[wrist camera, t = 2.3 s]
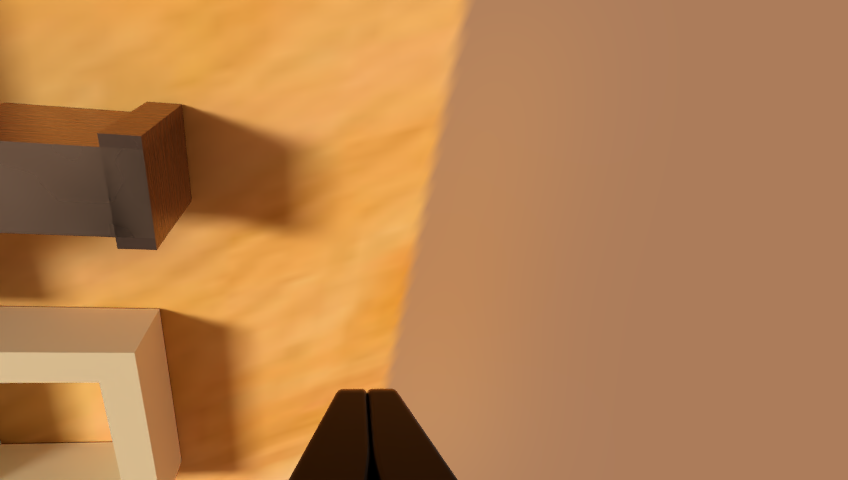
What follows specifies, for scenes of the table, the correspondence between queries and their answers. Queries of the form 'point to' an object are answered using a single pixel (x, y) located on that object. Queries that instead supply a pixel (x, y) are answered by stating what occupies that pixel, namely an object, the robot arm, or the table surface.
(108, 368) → the beige square frame
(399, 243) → the table surface
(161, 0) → the table surface
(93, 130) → the dark grey block
